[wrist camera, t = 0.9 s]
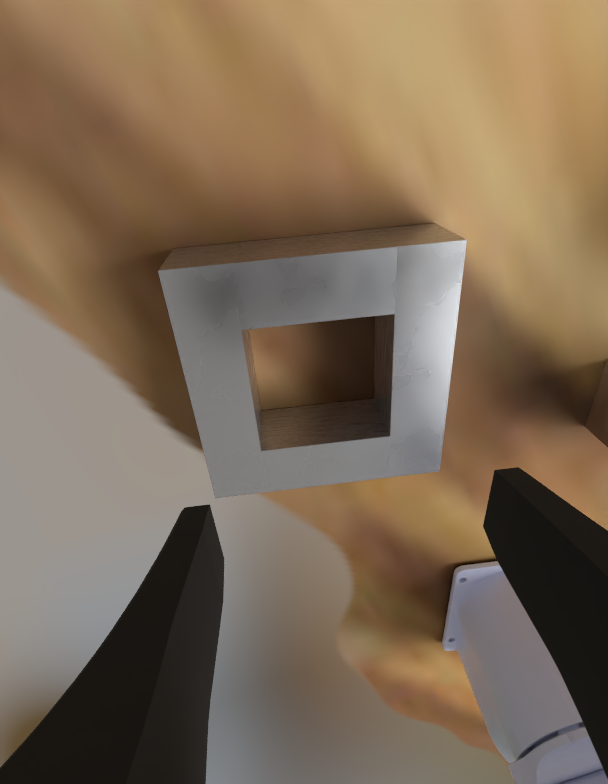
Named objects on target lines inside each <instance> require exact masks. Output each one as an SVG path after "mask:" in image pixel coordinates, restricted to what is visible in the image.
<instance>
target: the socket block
mask: <svg viewBox="0 0 608 784" xmlns="http://www.w3.org/2000/svg"><path fill="white" fill-rule="evenodd" d="M466 242H467V240H466V239H464V238H462V237H460V236H458V235H457V234H455V233H453V232H451V231H449V230H447V229H445V228H443V227H441V226H439V225H438V224H436V223H430V224H420V225H410V226H399V227H389V228H379V229H369V230H359V231H348V232H338V233H328V234H318V235H308V236H297V237H287V238H277V239H267V240H257V241H246V242H236V243H226V244H216V245H206V246H195V247H185V248H175V249H173V250H172V252H171V253H170V254H169V256H168V257H167V259H166V260H165V261H164V263H163V264H162V266H161V267H160V268H159V270H158V273H159V277H160V281H161V285H162V289H163V293H164V297H165V301H166V305H167V309H168V313H169V317H170V321H171V325H172V329H173V333H174V337H175V341H176V344H177V348H178V352H179V356H180V360H181V364H182V368H183V372H184V376H185V380H186V384H187V388H188V392H189V396H190V400H191V404H192V408H193V412H194V416H195V419H196V423H197V427H198V431H199V435H200V439H201V443H202V447H203V451H204V455H205V459H206V463H207V467H208V471H209V475H210V479H211V483H212V487H213V491H214V495H215V498H220V497H229V496H237V495H245V494H254V493H262V492H271V491H279V490H287V489H296V488H304V487H312V486H321V485H329V484H337V483H346V482H354V481H362V480H371V479H379V478H387V477H396V476H404V475H412V474H421V473H429V472H437V471H440V463H441V454H442V446H443V437H444V429H445V420H446V412H447V403H448V395H449V386H450V378H451V369H452V361H453V352H454V344H455V336H456V327H457V319H458V310H459V302H460V293H461V285H462V276H463V268H464V259H465V251H466ZM370 316H375V340H374V398H371V399H362V400H353V401H344V402H335V403H327V404H318V405H309V406H300V407H291V408H282V409H273V410H265V411H261V409H260V403H259V396H258V390H257V383H256V377H255V370H254V364H253V357H252V351H251V344H250V338H249V331H248V329H257V328H266V327H276V326H285V325H295V324H304V323H314V322H323V321H332V320H342V319H351V318H361V317H370Z"/></svg>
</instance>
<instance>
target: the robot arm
mask: <svg viewBox="0 0 608 784" xmlns="http://www.w3.org/2000/svg"><path fill="white" fill-rule="evenodd" d="M483 527H484V529H485V532H486V534H487V537H488V539H489V542H490V544H491V547H492V549H493V551H494V554H495V556H496V558H497V561H494V562H486V563H478V564H471V565H463V566H459V567H457V568H456V569H455V571H454V575H453V581H452V587H451V593H450V599H449V605H448V611H447V617H446V622H445V628H444V634H443V640H442V646H443V649H444V650H446V651H452V650H458V653H459V656H460V658H461V661H462V663H463V666H464V669H465V671H466V674H467V677H468V679H469V682H470V684H471V687H472V690H473V692H474V695H475V697H476V700H477V703H478V705H479V708H480V710H481V713H482V716H483V718H484V721H485V724H486V726H487V729H488V731H489V734H490V736H491V738H492V740H493V742H494V744H495V746H496V747H497V749H498V751H499V752H500V753H501V755H502V756H503V757H504V758H505V759H506V760H507V762H508V763H509V768H510V771H511V774H512V776H513V779H514V781H515V784H608V531H607V530H606V529H604V528H603V527H601V526H600V525H598V524H597V523H596V522H594V521H593V520H591V519H590V518H588V517H587V516H586V515H584V514H583V513H581V512H580V511H579V510H577V509H576V508H574V507H573V506H571V505H570V504H569V503H567V502H566V501H565V500H563V499H562V498H560V497H559V496H558V495H556V494H555V493H553V492H552V491H551V490H549V489H548V488H547V487H545V486H544V485H542V484H541V483H540V482H538V481H537V480H536V479H534V478H533V477H531V476H530V475H529V474H527V473H526V472H524V471H523V470H521V469H520V468H518V467H517V468H509V469H501V470H495V471H494V476H493V481H492V486H491V491H490V495H489V500H488V505H487V510H486V515H485V520H484V524H483ZM223 587H224V557H223V553H222V550H221V546H220V542H219V538H218V534H217V531H216V527H215V523H214V519H213V516H212V512H211V508H210V505H202V506H194V507H186V508H184V509H183V510H182V511H181V513H180V515H179V517H178V519H177V521H176V523H175V525H174V527H173V529H172V531H171V533H170V535H169V537H168V539H167V541H166V542H165V544H164V546H163V548H162V550H161V551H160V553H159V555H158V557H157V559H156V560H155V562H154V564H153V565H152V567H151V569H150V570H149V572H148V574H147V575H146V577H145V579H144V581H143V582H142V584H141V586H140V587H139V589H138V591H137V592H136V594H135V595H134V597H133V599H132V600H131V602H130V603H129V604H128V606H127V608H126V609H125V611H124V612H123V614H122V615H121V617H120V618H119V620H118V621H117V623H116V624H115V626H114V627H113V629H112V630H111V632H110V633H109V635H108V636H107V637H106V639H105V640H104V642H103V643H102V645H101V646H100V647H99V649H98V650H97V651H96V653H95V654H94V656H93V657H92V658H91V660H90V661H89V662H88V664H87V665H86V666H85V667H84V669H83V670H82V672H81V673H80V674H79V675H78V677H77V678H76V679H75V681H74V682H73V683H72V684H71V686H70V687H69V688H68V689H67V690H66V692H65V693H64V694H63V696H62V697H61V698H60V699H59V701H58V702H57V703H56V704H55V706H54V707H53V708H52V709H51V710H50V712H49V713H48V714H47V715H46V716H45V718H44V719H43V720H42V721H41V722H40V724H39V725H38V726H37V727H36V728H35V729H34V731H33V732H32V733H31V734H30V735H29V736H28V738H27V739H26V740H25V741H24V742H23V743H22V745H20V746H19V748H18V749H17V750H16V751H15V752H14V753H13V755H11V756H10V758H9V759H8V760H7V761H6V762H5V763H4V764H3V765H2V766H1V767H0V784H205V781H206V759H207V758H206V757H207V737H208V736H207V735H208V719H209V709H210V698H211V690H212V683H213V675H214V668H215V660H216V652H217V644H218V637H219V629H220V621H221V613H222V605H223Z"/></svg>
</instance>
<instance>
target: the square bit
mask: <svg viewBox="0 0 608 784" xmlns="http://www.w3.org/2000/svg"><path fill="white" fill-rule="evenodd" d="M585 427H586V428H587V429H588V430H589V431H590V432H591V433H592V434H594V435H595V436H596V437H597V438H598V439H599V440H600V441H601V442H602V443H604V444H605V445H606V446H607V447H608V359H607V360H606V363H605V366H604V369H603V372H602V375H601V379H600V382H599V385H598V388H597V391H596V394H595V397H594V400H593V403H592V406H591V409H590V412H589V415H588V418H587V421H586V424H585Z"/></svg>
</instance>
